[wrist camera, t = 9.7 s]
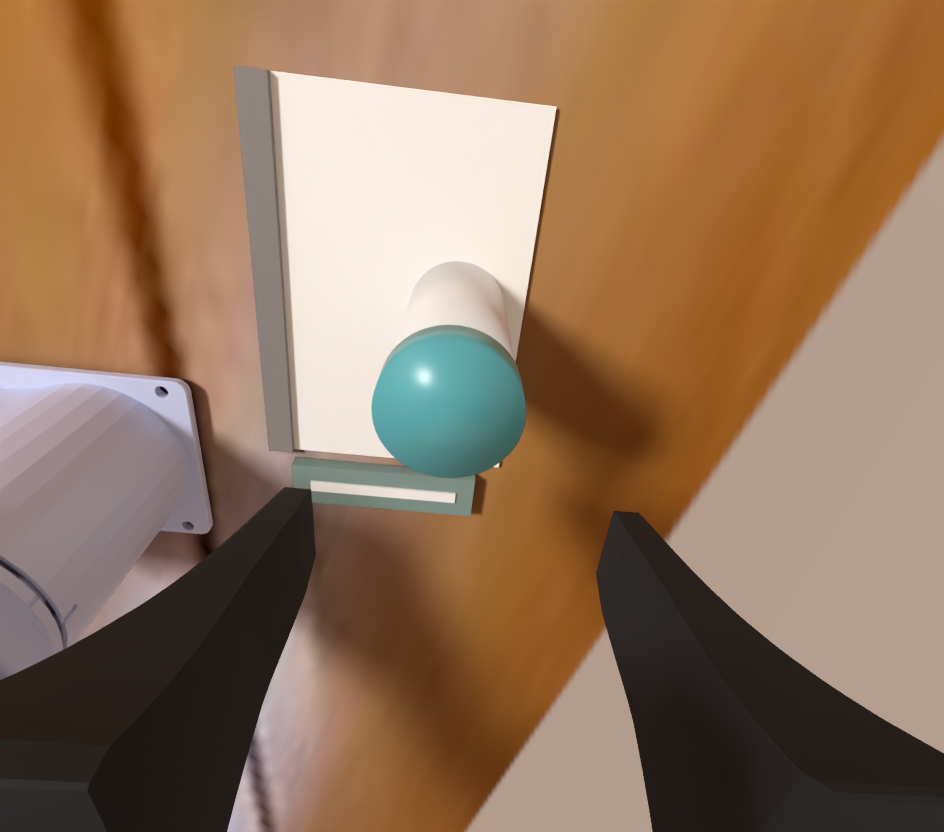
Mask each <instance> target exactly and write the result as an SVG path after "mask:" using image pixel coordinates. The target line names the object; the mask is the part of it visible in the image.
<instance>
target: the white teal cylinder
mask: <svg viewBox="0 0 944 832" xmlns="http://www.w3.org/2000/svg"><path fill="white" fill-rule="evenodd" d="M371 410H372V420H373V425H374V428H375V431H376V433H377V435H378V437H379V439H380V441H381V442H382V444H383V445H384V447H385V448H386V449H387V450H388V452H389V453H390V454H391V455H392V456H393V457H394V458H396V459H397V460H398V461H399V462H401V463H402V464H404V465H405V466H407V467H409V468H411V469H413V470H415V471H417V472H420V473H422V474H426V475H429V476H434V477H440V478H461V477H467V476H472V475H475V474H479V473H481V472H484V471H486V470H488V469H490V468H492V467H494V466H495V465H497V464H498V463H500V462H501V461H502V460H503V459H505V458H506V457H507V456H508V455H509V454H510V453H511V451H512V450H513V449H514V448H515V446H516V445H517V443H518V441H519V440H520V437H521V435H522V433H523V430H524V426H525V421H526V403H525V397H524V391H523V386H522V380H521V375H520V372H519V369H518V367H517V365H516V363H515V361H514V356H513V350H512V344H511V338H510V332H509V326H508V320H507V314H506V308H505V302H504V297H503V293H502V291H501V289H500V286H499V285H498V283H497V282H496V280H495V279H494V278H493V277H492V276H491V275H490V274H489V273H488V272H487V271H485V270H484V269H483V268H481V267H479V266H477V265H474V264H471V263H468V262H462V261H452V262H446V263H442V264H439V265H437V266H435V267H433V268H431V269H430V270H428V271H427V272H426V273H425V274H424V275H423V276H422V277H421V278H420V279H419V280H418V282H417V283H416V285H415V287H414V289H413V292H412V295H411V298H410V300H409V303H408V306H407V309H406V312H405V315H404V318H403V321H402V324H401V327H400V330H399V333H398V336H397V339H396V341H395V344H394V347H393V350H392V352H391V353H390V354H389V356H388V357H387V359H386V361H385V363H384V365H383V367H382V370H381V373H380V376H379V379H378V381H377V384H376V387H375V390H374V394H373V397H372V405H371Z"/></svg>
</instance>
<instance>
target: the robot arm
mask: <svg viewBox="0 0 944 832" xmlns="http://www.w3.org/2000/svg"><path fill="white" fill-rule="evenodd" d="M160 386H161V387H164V388H165V389H167V391H168V394H167V393H164V392H163V391H162V390H161V389H160ZM188 522H190V523H192V524H193V525H192V524H189V523H188ZM212 526H213V520H212V514H211V508H210V502H209V496H208V490H207V484H206V478H205V472H204V466H203V460H202V454H201V448H200V442H199V436H198V430H197V424H196V418H195V412H194V406H193V400H192V394H191V390H190V387H189V385H188V384H187V383H186V382H184V381H183V380H181V379H177V378H167V377H156V376H146V375H136V374H125V373H115V372H104V371H94V370H83V369H73V368H62V367H52V366H41V365H31V364H21V363H10V362H0V832H227V829H228V825H229V822H230V818H231V814H232V810H233V806H234V802H235V798H236V795H237V791H238V788H239V784H240V780H241V777H242V773H243V770H244V766H245V762H246V759H247V755H248V752H249V748H250V745H251V741H252V738H253V734H254V731H255V728H256V724H257V721H258V717H259V714H260V711H261V707H262V704H263V701H264V698H265V695H266V692H267V690H268V687H269V684H270V681H271V679H272V676H273V674H274V671H275V669H276V666H277V664H278V661H279V659H280V656H281V654H282V651H283V649H284V646H285V644H286V641H287V639H288V637H289V634H290V632H291V629H292V627H293V624H294V622H295V619H296V616H297V614H298V611H299V609H300V606H301V604H302V601H303V599H304V596H305V593H306V590H307V586H308V582H309V579H310V575H311V571H312V567H313V563H314V559H315V555H316V552H315V537H314V523H313V508H312V494H311V489H302V488H288V487H285V488H283V489H282V490H281V491H280V492H279V493H278V494H277V495H275V496H274V497H273V498H272V499H271V500H270V501H269V502H268V503H267V504H266V505H265V506H264V507H263V508H262V509H261V510H260V511H259V512H257V513H256V514H255V515H254V516H253V517H252V518H251V519H250V520H249V521H248V522H247V523H246V524H244V525H243V526H242V527H241V528H240V529H239V530H238V531H237V532H235V533H234V534H233V535H232V536H231V537H230V538H229V539H227V540H226V541H225V542H224V543H223V544H222V545H221V546H219V547H218V548H217V549H216V550H215V551H213V552H212V553H211V554H210V555H208V556H207V557H206V558H205V559H203V560H202V561H201V562H200V563H198V564H197V565H196V566H195V567H193V568H192V569H191V570H190V571H188V572H187V573H186V574H185V575H183V576H182V577H180V578H179V579H178V580H176V581H175V582H174V583H172V584H171V585H170V586H168V587H167V588H165V589H164V590H162V591H161V592H160V593H158V594H157V595H155V596H154V597H152V598H151V599H149V600H148V601H146V602H145V603H143V604H142V605H140V606H138V607H137V608H135V609H133V610H132V611H130V612H128V613H127V614H125V615H123V616H122V617H120V618H118V619H117V620H115V621H113V622H112V623H110V624H108V625H107V626H105V627H103V628H102V629H100V630H98V631H97V632H95V633H93V634H91V635H90V636H88V637H86V638H84V639H82V640H80V641H79V642H77V640H78V639H79V638H80V636H81V635H82V634H83V632H84V631H85V630H86V628H87V627H88V626H89V624H90V623H91V622H92V620H93V619H94V618H95V616H96V615H97V614H98V612H99V611H100V610H101V608H102V607H103V606H104V604H105V603H106V602H107V600H108V599H109V598H110V596H111V595H112V594H113V592H114V591H115V590H116V588H117V587H118V586H119V584H120V583H121V582H122V580H123V579H124V578H125V576H126V575H127V574H128V572H129V571H130V570H131V568H132V567H133V566H134V564H135V563H136V562H137V560H138V559H139V558H140V556H141V555H142V554H143V552H144V551H145V550H146V548H147V547H148V546H149V544H150V543H151V542H152V540H153V539H154V538H155V537H156V535H157V534H158V533H159V531H168V532H180V533H193V534H206V533H208V532H209V531H210V529H211V527H212ZM596 575H597V582H598V589H599V596H600V602H601V608H602V613H603V617H604V621H605V624H606V628H607V631H608V635H609V638H610V642H611V645H612V648H613V652H614V655H615V659H616V662H617V665H618V669H619V672H620V675H621V679H622V682H623V685H624V689H625V693H626V696H627V699H628V703H629V707H630V711H631V714H632V718H633V723H634V728H635V733H636V738H637V743H638V749H639V753H640V759H641V764H642V769H643V776H644V782H645V787H646V793H647V799H648V805H649V811H650V817H651V823H652V830H653V832H944V753H942V752H940V751H938V750H936V749H935V748H933V747H931V746H929V745H928V744H926V743H924V742H922V741H921V740H919V739H917V738H915V737H913V736H912V735H910V734H908V733H906V732H905V731H903V730H901V729H899V728H898V727H896V726H894V725H892V724H890V723H889V722H887V721H885V720H884V719H882V718H880V717H879V716H877V715H875V714H874V713H872V712H871V711H869V710H867V709H866V708H864V707H863V706H861V705H859V704H858V703H856V702H854V701H853V700H852V699H850V698H848V697H847V696H845V695H844V694H842V693H841V692H839V691H838V690H836V689H835V688H833V687H832V686H830V685H829V684H827V683H826V682H824V681H823V680H821V679H820V678H819V677H817V676H816V675H814V674H813V673H812V672H810V671H809V670H807V669H806V668H805V667H803V666H802V665H801V664H799V663H798V662H796V661H795V660H794V659H792V658H791V657H789V656H788V655H787V654H785V653H784V652H783V651H782V650H780V649H779V648H778V647H776V646H775V645H774V644H773V643H771V642H770V641H769V640H768V639H767V638H765V637H764V636H763V635H762V634H760V633H759V632H758V631H757V630H756V629H754V628H753V627H752V626H751V625H749V624H748V623H747V622H746V621H745V620H744V619H743V618H741V617H740V616H739V615H738V614H737V613H736V612H735V611H733V610H732V609H731V608H730V607H729V606H728V605H727V604H726V603H725V602H724V601H723V600H722V599H721V598H720V597H718V596H717V595H716V594H715V593H714V592H713V591H712V590H711V589H710V588H709V587H708V586H707V585H706V584H705V583H704V582H703V581H702V580H701V579H700V578H699V577H698V576H697V575H696V574H695V573H694V572H693V571H692V570H691V569H690V568H689V567H688V566H687V565H686V564H685V562H684V561H683V560H682V559H681V558H680V557H679V556H678V555H677V554H676V553H675V552H674V551H673V550H672V549H671V547H670V546H669V545H668V544H667V543H666V542H665V541H664V540H663V539H662V538H661V536H660V535H659V534H658V533H657V532H656V531H655V530H654V529H653V528H652V527H651V525H650V524H649V523H648V522H647V521H646V520H645V519H644V518H643V517H642V516H641V515H640V514H639V513H633V512H620V511H614V512H613V515H612V519H611V522H610V526H609V529H608V533H607V536H606V540H605V544H604V547H603V551H602V554H601V558H600V561H599V565H598V568H597V572H596ZM76 642H77V643H76Z"/></svg>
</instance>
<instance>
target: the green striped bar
mask: <svg viewBox="0 0 944 832" xmlns="http://www.w3.org/2000/svg"><path fill="white" fill-rule="evenodd" d="M292 476H293V488H302V489H311V494H312V503H322V504H334V505H345V506H357V507H369V508H381V509H392V510H404V511H416V512H428V513H439V514H451V515H463V516H470V515H471V508H472V501H473V493H474V486H475V475H472V476H467V477H461V478H440V477H434V476H429V475H426V474H422V473H420V472H417V471H415V470H413V469H411V468H409V467H402V466H391V465H379V464H368V463H357V462H346V461H334V460H323V459H312V458H301V457H295V459H294V461H293V463H292Z"/></svg>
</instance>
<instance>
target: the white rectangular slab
mask: <svg viewBox="0 0 944 832" xmlns="http://www.w3.org/2000/svg"><path fill="white" fill-rule="evenodd" d="M233 67H234V78H235V88H236V99H237V110H238V121H239V132H240V142H241V153H242V164H243V175H244V186H245V197H246V207H247V218H248V229H249V240H250V251H251V261H252V272H253V283H254V294H255V305H256V315H257V326H258V337H259V348H260V359H261V369H262V380H263V391H264V402H265V413H266V424H267V434H268V445H269V451H280V452H291V453H293V451H294V449H299V450H310V451H321V452H332V453H343V454H355V455H366V456H377V457H388V458H394V457H393V456H392V455H391V454H390V453H389V452H388V450H387V449H386V448H385V447H384V445H383V444H382V442H381V441H380V439H379V437H378V435H377V433H376V431H375V428H374V425H373V420H372V410H371V405H372V397H373V394H374V390H375V387H376V384H377V381H378V379H379V376H380V373H381V370H382V367H383V365H384V363H385V361H386V359H387V357H388V356H389V354H390V353H391V352H392V350H393V347H394V344H395V341H396V339H397V336H398V333H399V330H400V327H401V324H402V321H403V318H404V315H405V312H406V309H407V306H408V303H409V300H410V298H411V295H412V292H413V289H414V287H415V285H416V283H417V282H418V280H419V279H420V278H421V277H422V276H423V275H424V274H425V273H426V272H427V271H428V270H430V269H431V268H433V267H435V266H437V265H439V264H442V263H446V262H452V261H462V262H468V263H471V264H474V265H477V266H479V267H481V268H483V269H484V270H485V271H487V272H488V273H489V274H490V275H491V276H492V277H493V278H494V279H495V280H496V282H497V283H498V285H499V286H500V289H501V291H502V293H503V297H504V302H505V308H506V314H507V320H508V326H509V332H510V338H511V344H512V350H513V356H514V361H515V363H516V357H517V350H518V344H519V338H520V332H521V326H522V319H523V313H524V307H525V301H526V294H527V288H528V282H529V276H530V270H531V263H532V257H533V251H534V245H535V238H536V232H537V226H538V220H539V214H540V207H541V201H542V195H543V189H544V182H545V176H546V170H547V164H548V158H549V151H550V145H551V139H552V133H553V126H554V120H555V114H556V108H557V107H555V106H547V105H539V104H531V103H523V102H515V101H507V100H499V99H491V98H484V97H476V96H468V95H460V94H452V93H444V92H436V91H428V90H420V89H412V88H404V87H396V86H388V85H380V84H372V83H364V82H356V81H348V80H340V79H332V78H324V77H316V76H308V75H301V74H293V73H285V72H277V71H269V70H263V69H255V68H247V67H239V66H233ZM494 467H499V463H498V464H497V465H495V466H494Z"/></svg>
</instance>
